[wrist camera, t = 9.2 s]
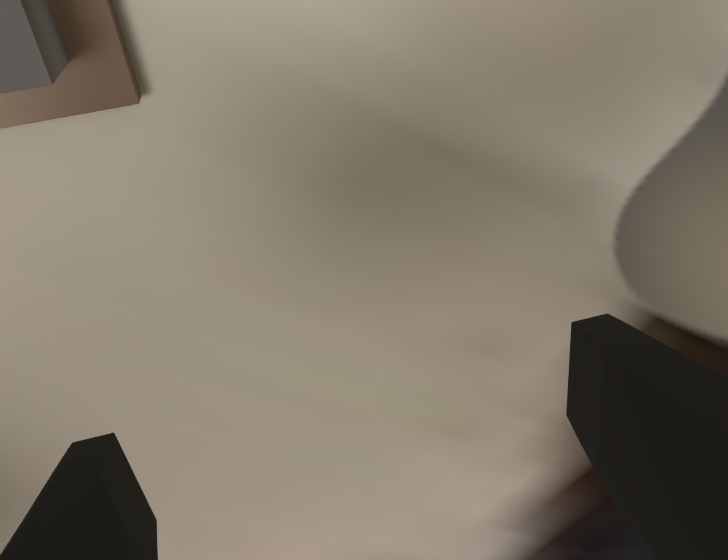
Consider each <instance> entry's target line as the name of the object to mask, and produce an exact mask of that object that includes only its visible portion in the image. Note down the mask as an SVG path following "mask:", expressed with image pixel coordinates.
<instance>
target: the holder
mask: <svg viewBox="0 0 728 560" xmlns="http://www.w3.org/2000/svg"><path fill="white" fill-rule="evenodd" d="M140 98H141V95H140V92H139V89H138V85H137V82H136V79H135V76H134V72H133V69H132V66H131V63H130V60H129V56H128V53H127V50H126V47H125V43H124V40H123V37H122V34H121V31H120V27H119V24H118V21H117V18H116V15H115V11H114V8H113V5H112V2H111V0H0V129H1V128H6V127H12V126H17V125H23V124H28V123H34V122H40V121H45V120H51V119H56V118H62V117H67V116H73V115H78V114H84V113H90V112H95V111H101V110H106V109H112V108H117V107H123V106H129V105H134V104H139V102H140Z"/></svg>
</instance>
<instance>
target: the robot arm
mask: <svg viewBox="0 0 728 560" xmlns="http://www.w3.org/2000/svg"><path fill="white" fill-rule="evenodd" d="M566 415H567V417H568V419H569V421H570V423H571V425H572V427H573V429H574V431H575V433H576V435H577V437H578V439H579V441H580V443H581V445H582V447H583V449H584V451H585V453H586V455H587V456H588V458H589V460H590V462H591V464H592V466H593V468H594V470H595V471H596V473H597V474H598V476H599V477H600V479H601V480H602V482H603V483H604V485H605V486H606V488H607V489H608V491H609V492H610V494H611V495H612V497H613V498H614V499H615V501H616V502H617V504H618V505H619V507H620V508H621V510H622V511H623V513H624V514H625V516H626V517H627V519H628V520H629V521H630V523H631V524H632V526H633V527H634V529H635V530H636V532H637V533H638V535H639V536H640V537H641V539H642V540H643V542H644V543H645V545H646V546H647V548H648V549H649V550H650V552H651V553H652V555H653V556H654V558H655V559H656V560H728V379H727V378H725V377H723V376H721V375H720V374H718V373H716V372H714V371H712V370H710V369H708V368H706V367H705V366H703V365H701V364H699V363H697V362H695V361H694V360H692V359H690V358H688V357H686V356H684V355H683V354H681V353H679V352H677V351H675V350H674V349H672V348H670V347H668V346H666V345H665V344H663V343H661V342H659V341H657V340H656V339H654V338H652V337H650V336H648V335H647V334H645V333H643V332H641V331H639V330H638V329H636V328H634V327H632V326H630V325H628V324H627V323H625V322H623V321H621V320H619V319H617V318H615V317H613V316H611V315H609V314H604V315H600V316H595V317H591V318H587V319H583V320H579V321H575V322H572V324H571V342H570V359H569V377H568V395H567V413H566ZM0 560H158V553H157V521H156V518H155V516H154V514H153V512H152V510H151V508H150V506H149V504H148V502H147V500H146V497H145V495H144V493H143V491H142V489H141V487H140V485H139V483H138V481H137V479H136V477H135V475H134V473H133V471H132V469H131V467H130V465H129V462H128V460H127V458H126V456H125V454H124V452H123V450H122V448H121V446H120V444H119V442H118V440H117V438H116V436H115V434H114V433H111V434H106V435H102V436H98V437H94V438H90V439H86V440H82V441H77V442H73V443H72V444H71V445H70V447H69V448H68V450H67V451H66V453H65V454H64V456H63V458H62V459H61V461H60V462H59V464H58V465H57V467H56V468H55V470H54V472H53V473H52V475H51V476H50V478H49V480H48V481H47V483H46V484H45V486H44V488H43V489H42V491H41V492H40V494H39V495H38V497H37V499H36V500H35V502H34V503H33V505H32V507H31V508H30V510H29V511H28V513H27V515H26V516H25V518H24V519H23V521H22V522H21V524H20V526H19V527H18V529H17V530H16V532H15V533H14V535H13V536H12V538H11V539H10V541H9V543H8V544H7V546H6V547H5V549H4V550H3V552H2V553H1V555H0Z"/></svg>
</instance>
